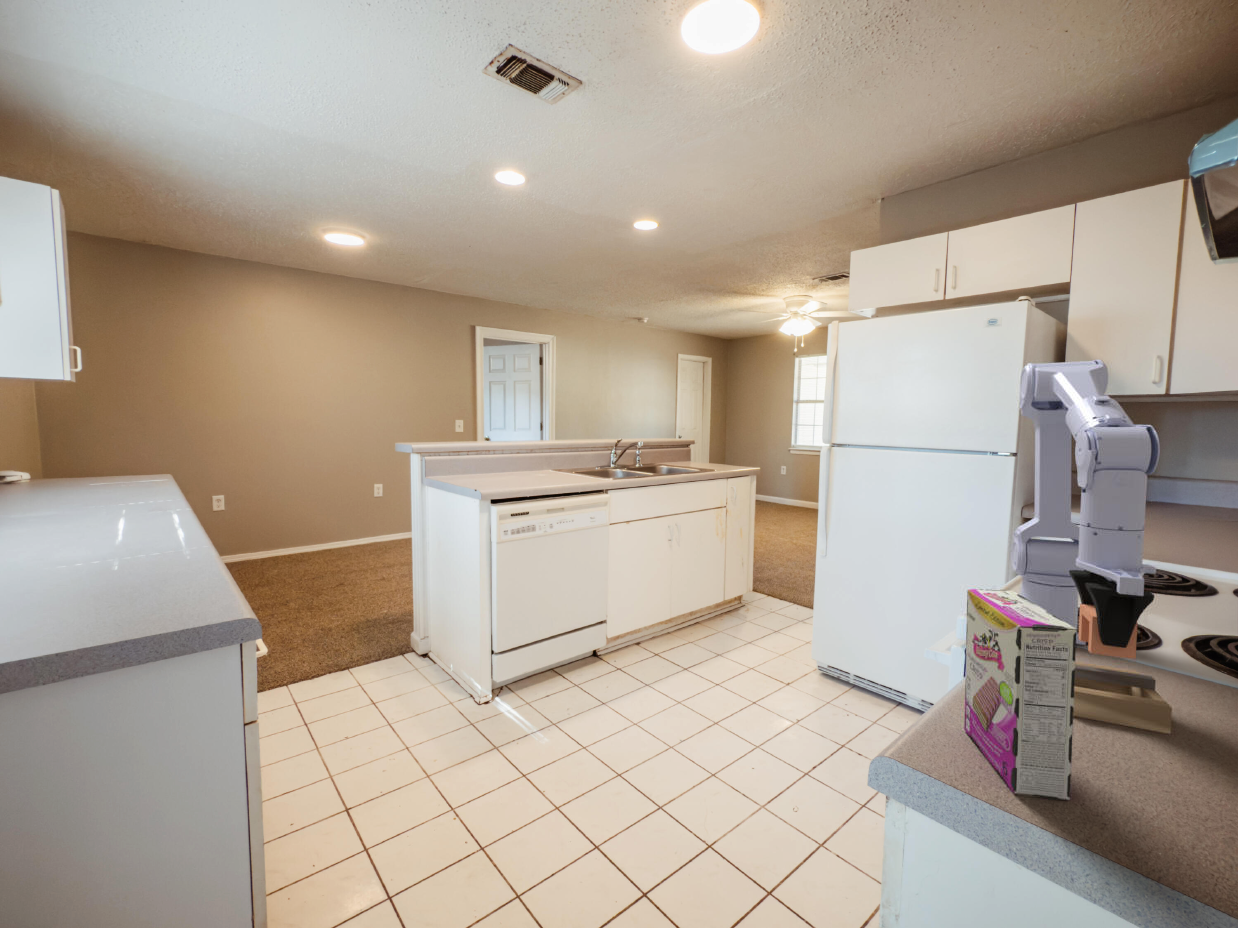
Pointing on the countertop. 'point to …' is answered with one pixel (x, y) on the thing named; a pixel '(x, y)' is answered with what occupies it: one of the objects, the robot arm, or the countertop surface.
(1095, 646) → the salmon notched block
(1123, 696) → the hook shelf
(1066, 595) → the robot arm
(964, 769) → the countertop surface
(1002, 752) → the candy bar box
